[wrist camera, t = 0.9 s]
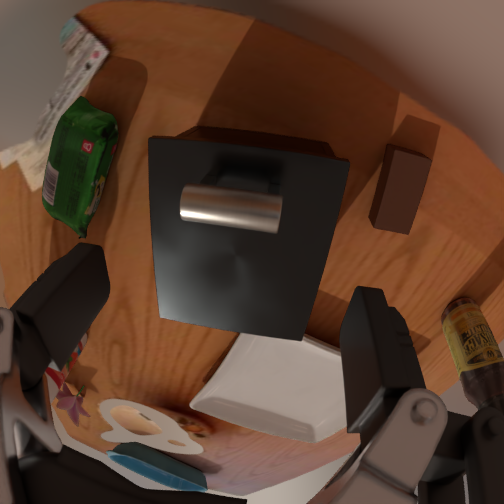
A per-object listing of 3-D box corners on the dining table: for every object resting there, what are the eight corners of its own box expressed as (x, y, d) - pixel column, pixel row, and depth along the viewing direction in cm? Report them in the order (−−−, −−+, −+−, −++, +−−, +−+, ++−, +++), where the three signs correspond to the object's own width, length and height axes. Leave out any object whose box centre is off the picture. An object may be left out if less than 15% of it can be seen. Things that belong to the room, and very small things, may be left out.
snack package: (57, 205, 34) (33, 223, 29) (86, 91, 26) (55, 98, 21) (98, 229, 35) (76, 251, 31) (136, 114, 27) (110, 123, 22)
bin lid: (153, 135, 18) (110, 156, 14) (348, 159, 18) (368, 188, 13) (162, 311, 27) (141, 356, 22) (301, 334, 26) (301, 385, 21)
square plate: (411, 360, 41) (416, 379, 37) (315, 430, 55) (314, 445, 52) (256, 297, 37) (252, 318, 34) (191, 392, 51) (186, 409, 48)
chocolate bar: (387, 143, 26) (395, 149, 24) (422, 153, 25) (432, 160, 23) (368, 217, 30) (373, 228, 28) (401, 224, 30) (408, 235, 28)
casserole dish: (103, 438, 80) (96, 454, 74) (128, 431, 70) (120, 451, 64) (186, 478, 91) (183, 493, 85) (223, 475, 82) (220, 493, 76)
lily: (54, 362, 58) (37, 392, 53) (78, 386, 53) (59, 419, 48) (85, 380, 67) (69, 407, 62) (110, 402, 61) (93, 432, 56)
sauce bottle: (479, 291, 33) (538, 409, 16) (468, 323, 36) (513, 436, 19) (441, 297, 34) (494, 428, 17) (432, 330, 37) (470, 452, 20)
